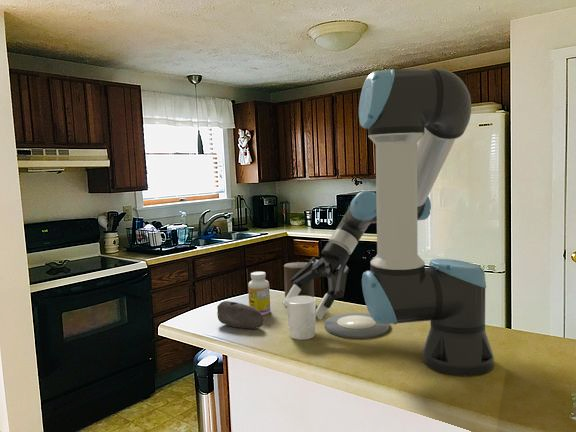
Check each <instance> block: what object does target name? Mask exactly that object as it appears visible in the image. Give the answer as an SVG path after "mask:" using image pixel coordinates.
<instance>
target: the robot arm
mask: <svg viewBox="0 0 576 432" xmlns="http://www.w3.org/2000/svg"><path fill="white" fill-rule="evenodd" d="M471 114H472V101H471V94H470V92H469V90H468V87H467V86H466V84H465V83H464V81H463V80H462V79H461V77H459V76H458V75H456V74H455V73H453V72H452V71H450V70H448V69H443V68H429V69H425V68H416V69H415V68H391V69H390V68H389V69H382V70H375V71H372V72H371V73H370V74H368V76H367V77H366V79H365V80H364V83H363V85H362V88H361V92H360V97H359V104H358V119H359V125H360V127H362V128H363V129H364V130H365V129H366V130H367V133H368V135H367V137H368V139H370V140H371V141H372V142H373V143H374V145H375V177H376V178H375V184H376V185H375V188H376V189H375V190H376V191H375V192H373V191H369V190H363V191H360V192H358V193H357V194H356V195H355V196H354V197H353V198H352V200H351V201H350V204H349V206H348V208H347V210H346V212H345V214H344V215H343V217H342V219H341V221H340V222H339V224H338V225H337V227H336V229H335V230H334V231H333V233H332V235H331V236H330V237H329V239H328V242H327V243H326V244H325V246H324V247H323V249H322V251H321V257H320V258H319V259H317V258H316V257H315V256H313V257H312V258H311V259H310V260H309V261H308V262H307V263H308V264H306V265H305V266H304V267H303V268H302V269H301V270H300V271H299V272H297V273H296V274H295V275H294V276H293V277H292V278H291V279H290V281H291V282H292V283H293V285H292V287H291V288H290V290H289V291H288V294H287V296H286V298H285V297H284V299H283V301H282V305H283V306H285V307H286V308H287V299H288V298H290V297H294V296H298V294H299V292H300V291H301V288H300V287H302V286H304V285H305V284H307V283H308V282H310V281H311V280H313V279H316V278H320V277H322V278H327V283H328V284H327V285H328V291H327V292H326V293H325V294H324V296H323V297H322V299H321V301H320V303H319V304H318V306H317V307H316V311H315V312H314V315H315V316H316V318H317V319H318V320H323V318H324V316H325V315H326V313H327V312H328V310H329V309H330V308H331V306H332V305H333V303H334V301H335V300H337V299H338V298H339V299H343V298H344V295H345V290H346V284H347V283H346V282H347V276H348V273H349V271H350V268H349V266H347V262H348V260H349V258H350V255H352V253H353V252H354V250H355V249H356V247H357V245H358V243H359V241H360V240H361V238H362V237H363V235H364V233H365V232H366V230H367V229H368V227H369V226H370V225H371V224H376V255H375V256H374V257H373V258H372V259H371V260H370V262H369V263H370V265H369V266H370V267H369V268H370V269H369V270H366V271H364V272H363V273H362V275H361V277H362V278H361V287H362V294H363V298H364V302H365V306H366V308H367V311H368V314H370V315H371V317H372V319H373V320H374V321H375V322H377V323H380V324H389V325H390V324H392V325H398V324H407V323H408V324H409V323H416V322H417V323H418V322H430V327H429V330H428V334H427V336H426V339H425V342H424V346H423V349H422V361H423V363H424V365H426V366H427V368H430V369H432V370H433V371H436V372H438V373H442V374H446V375H449V376H450V375H452V376H458V377H459V376H460V377H474V376H475V377H476V376H481V375H484V374H485V375H486V374H488V373H489V372H491V371H493V369H494V366H495V362H494V360H495V359H494V357H495V356H494V353H493V349H492V347H491V345H490V341H489V338H488V335H487V333H486V288H487V283H486V282H487V281H486V273H485V270H484V269H483V268H482V267H481V266H480V265H478V264H476V263H473V262H468V261H465V260H464V261H463V260H457V259H449V258H434V259H430V262H428V263H429V264H428V267H426V262H425V260H423V259H422V257H420V255H419V253H418V251H419V250H418V221H425V220H427V219H428V218H429V217H430V214H431V211H432V208H431V207H432V204H431V199H430V197H429V195H430V194H431V193H430V192H431V191H432V189H433V187H434V185H435V183H436V181H437V178H439V177H438V176H439V175H440V173H441V170H442V168H443V166H444V164H445V162H446V160H447V157H448V155H449V153H450V152H451V149H452V148H453V146H454V143H455V141H456V140H457V139H459V138H461V137H462V136H463V134H464V133H465V131H466V129H467V127H468V125H469V122H470V119H471ZM295 279H296V280H295ZM299 283H300V284H299Z"/></svg>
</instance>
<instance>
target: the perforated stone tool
mask: <svg viewBox="0 0 576 432" xmlns="http://www.w3.org/2000/svg"><path fill="white" fill-rule="evenodd" d="M216 308H217V312H216V313H217V314H216V315H217V320H218V321H219V322H220V323H221V324H224V325H226V326H227V327H228V326H229V327H232V328H241V329H248V330H249V329H250V330H252V329H254V330H255V329H259V328H261V327H262V326H263V324H264V317H263V315H261V313H260V312H259V311H258V310H256V309H255V308H253V307H250V306H249V305H247V304H244V303H240V302H235V301H230V300H229V301H227V300H225V301H221V302H220V303H219V304H218V305H217V307H216Z"/></svg>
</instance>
